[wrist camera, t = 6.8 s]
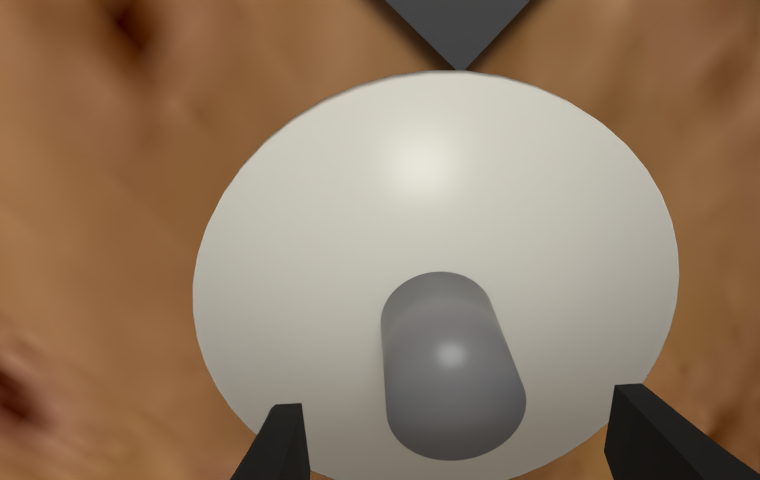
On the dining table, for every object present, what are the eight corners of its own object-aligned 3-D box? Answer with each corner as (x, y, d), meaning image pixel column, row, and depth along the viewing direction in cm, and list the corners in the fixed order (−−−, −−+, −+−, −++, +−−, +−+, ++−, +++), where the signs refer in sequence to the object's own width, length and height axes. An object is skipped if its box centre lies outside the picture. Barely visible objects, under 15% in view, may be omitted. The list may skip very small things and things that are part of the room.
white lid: (757, 283, 17) (875, 379, 14) (439, 529, 22) (457, 658, 18) (424, -58, 13) (454, -65, 9) (107, 329, 17) (34, 438, 13)
